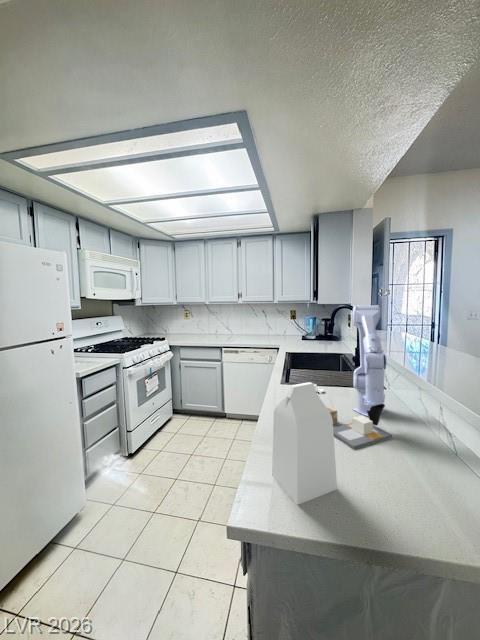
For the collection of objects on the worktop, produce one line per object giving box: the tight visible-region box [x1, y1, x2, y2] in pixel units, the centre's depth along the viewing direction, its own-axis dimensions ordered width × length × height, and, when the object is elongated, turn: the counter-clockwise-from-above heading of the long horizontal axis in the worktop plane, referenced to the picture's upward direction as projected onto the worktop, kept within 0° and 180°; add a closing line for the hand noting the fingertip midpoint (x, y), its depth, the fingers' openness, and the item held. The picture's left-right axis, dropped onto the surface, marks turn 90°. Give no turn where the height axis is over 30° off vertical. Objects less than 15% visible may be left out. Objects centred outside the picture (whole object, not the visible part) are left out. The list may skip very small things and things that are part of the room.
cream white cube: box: [352, 415, 373, 435], centre depth 93 cm, size 4×5×4 cm
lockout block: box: [326, 406, 338, 425], centre depth 102 cm, size 4×4×5 cm
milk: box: [271, 381, 338, 506], centre depth 69 cm, size 12×12×26 cm
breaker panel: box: [333, 422, 393, 450], centre depth 92 cm, size 17×12×1 cm
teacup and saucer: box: [313, 383, 325, 393], centre depth 136 cm, size 9×8×4 cm
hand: (374, 424), depth 95 cm, fingers closed
